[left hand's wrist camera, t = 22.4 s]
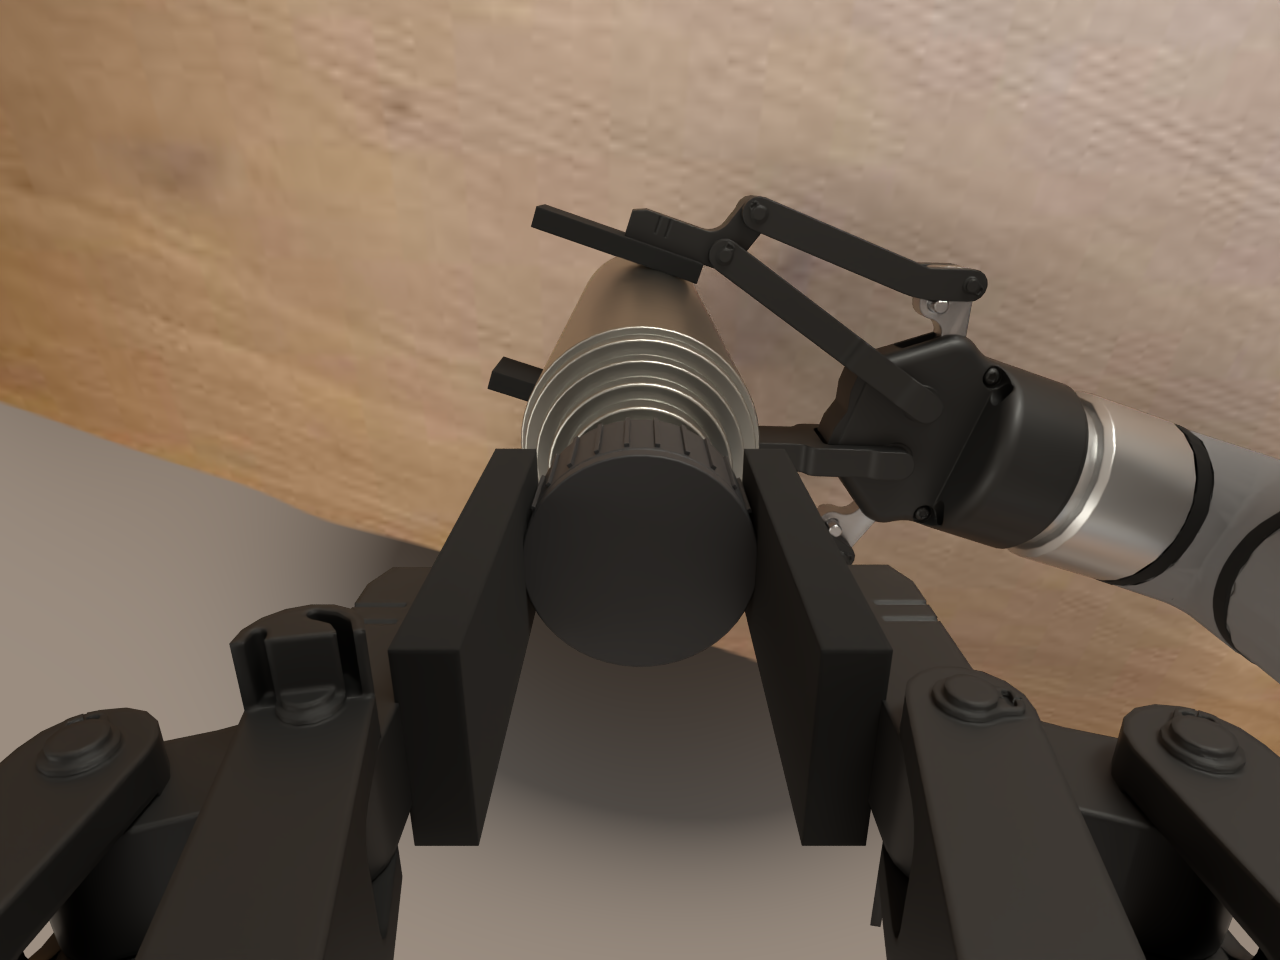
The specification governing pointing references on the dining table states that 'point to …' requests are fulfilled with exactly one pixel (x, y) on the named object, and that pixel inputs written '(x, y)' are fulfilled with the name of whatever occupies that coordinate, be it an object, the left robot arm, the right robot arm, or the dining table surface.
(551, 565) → the cap
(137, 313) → the dining table surface
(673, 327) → the bottle
